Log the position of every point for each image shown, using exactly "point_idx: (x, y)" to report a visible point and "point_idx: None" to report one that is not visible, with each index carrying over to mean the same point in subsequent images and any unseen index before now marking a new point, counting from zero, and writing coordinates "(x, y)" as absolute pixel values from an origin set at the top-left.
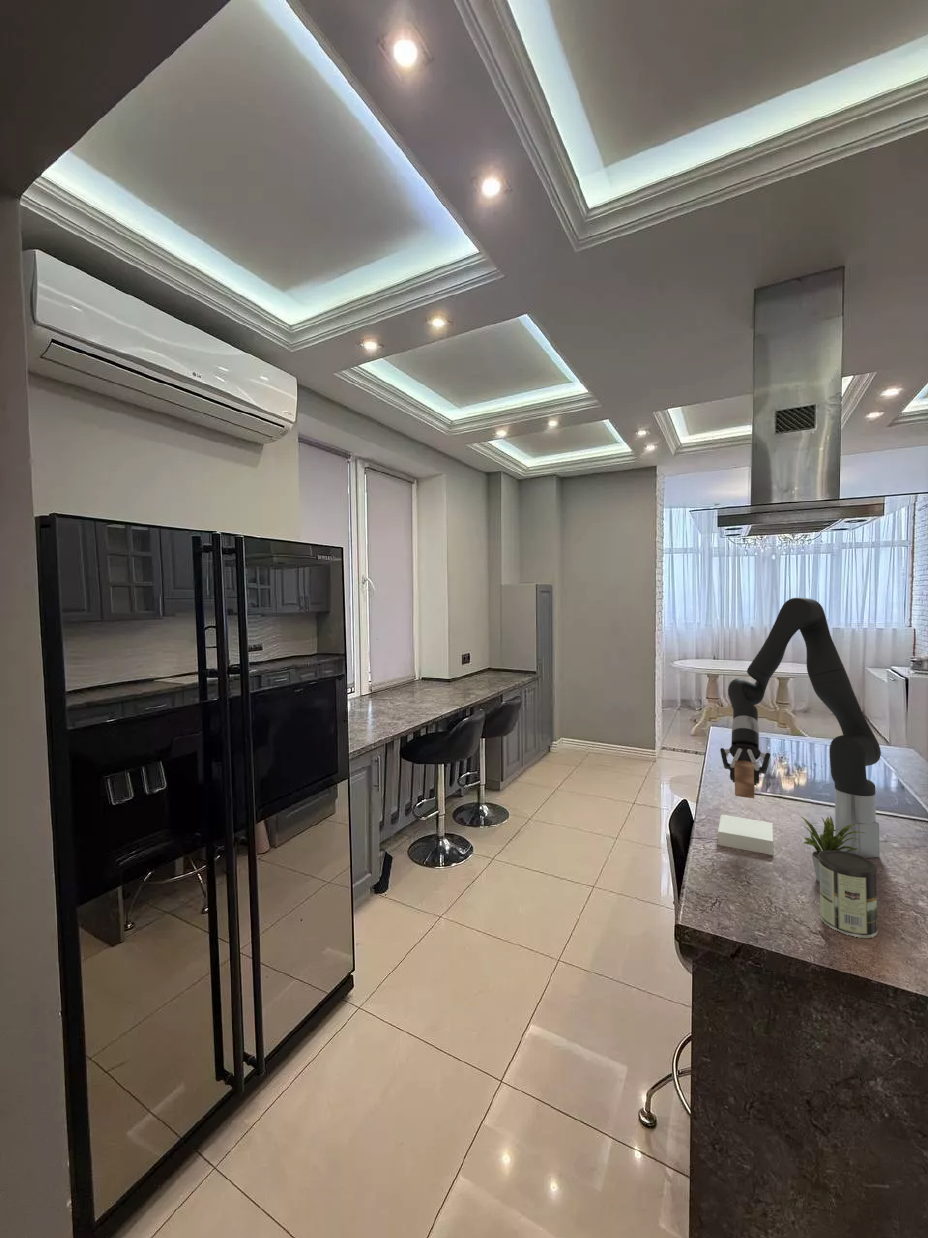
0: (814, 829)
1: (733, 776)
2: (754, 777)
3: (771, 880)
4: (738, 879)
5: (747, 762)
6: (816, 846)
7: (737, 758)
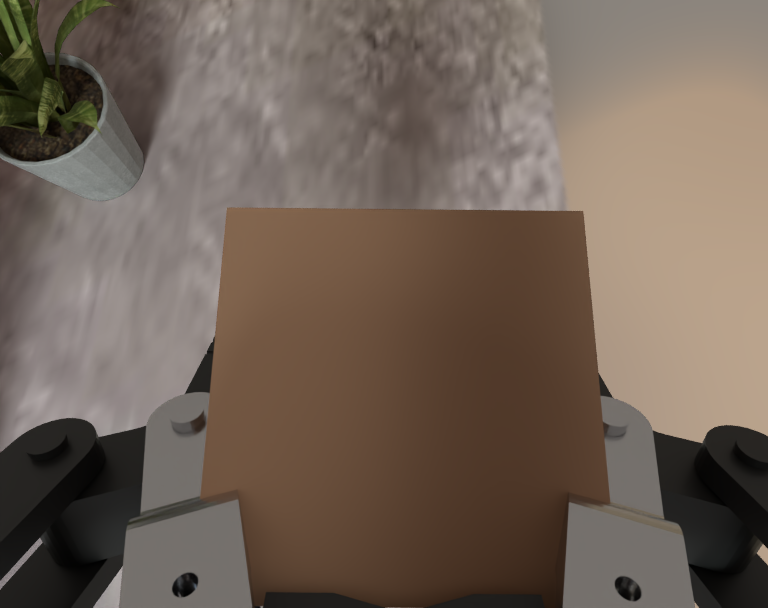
0: (5, 68)
1: None
2: None
3: (297, 86)
4: (402, 46)
5: (337, 482)
6: (60, 45)
7: (583, 554)
